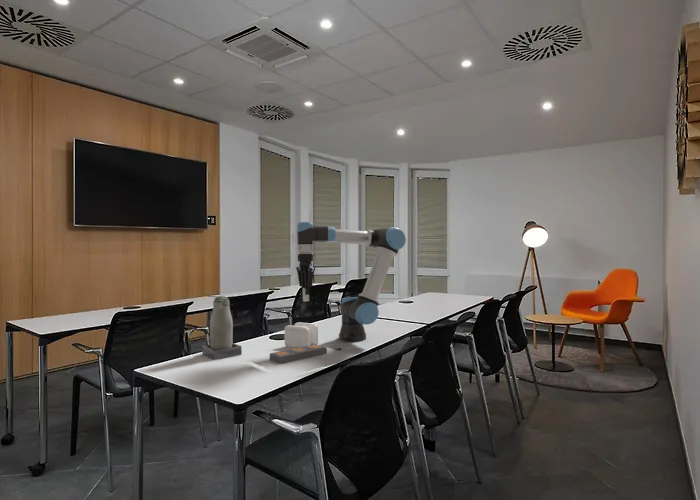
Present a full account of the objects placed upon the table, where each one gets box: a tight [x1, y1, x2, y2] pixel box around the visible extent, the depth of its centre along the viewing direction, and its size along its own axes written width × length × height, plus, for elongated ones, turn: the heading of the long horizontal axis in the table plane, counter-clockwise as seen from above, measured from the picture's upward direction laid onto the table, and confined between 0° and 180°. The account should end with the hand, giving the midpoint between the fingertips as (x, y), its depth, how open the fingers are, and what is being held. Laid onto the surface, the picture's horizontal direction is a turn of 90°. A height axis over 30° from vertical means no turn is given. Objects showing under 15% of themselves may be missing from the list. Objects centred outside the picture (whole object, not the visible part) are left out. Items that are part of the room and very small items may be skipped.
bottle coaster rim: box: [201, 342, 243, 361], centre depth 205 cm, size 14×14×4 cm
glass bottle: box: [209, 295, 234, 350], centre depth 205 cm, size 10×10×28 cm
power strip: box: [269, 344, 342, 365], centre depth 199 cm, size 37×9×4 cm, turn 131°
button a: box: [308, 344, 322, 349], centre depth 201 cm, size 4×4×3 cm
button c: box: [274, 351, 289, 356], centre depth 189 cm, size 4×4×3 cm
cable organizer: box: [284, 321, 319, 348], centre depth 217 cm, size 15×11×12 cm
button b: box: [291, 347, 306, 352], centre depth 195 cm, size 4×4×3 cm
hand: (305, 301), depth 211 cm, fingers closed
